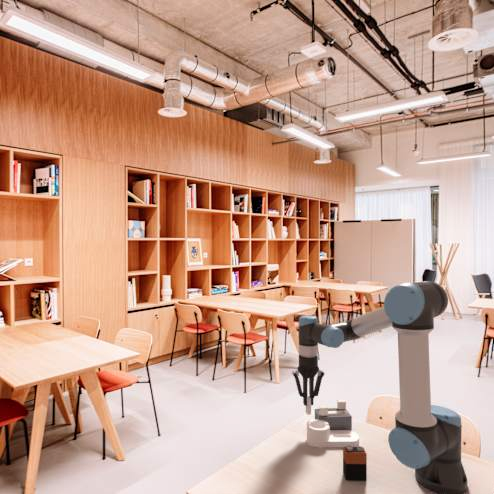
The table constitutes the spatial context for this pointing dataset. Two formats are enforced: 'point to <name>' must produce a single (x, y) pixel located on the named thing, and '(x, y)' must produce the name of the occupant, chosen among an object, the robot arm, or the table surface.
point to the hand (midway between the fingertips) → (308, 413)
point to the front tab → (323, 410)
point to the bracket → (329, 435)
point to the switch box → (336, 418)
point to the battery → (354, 463)
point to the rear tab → (341, 404)
